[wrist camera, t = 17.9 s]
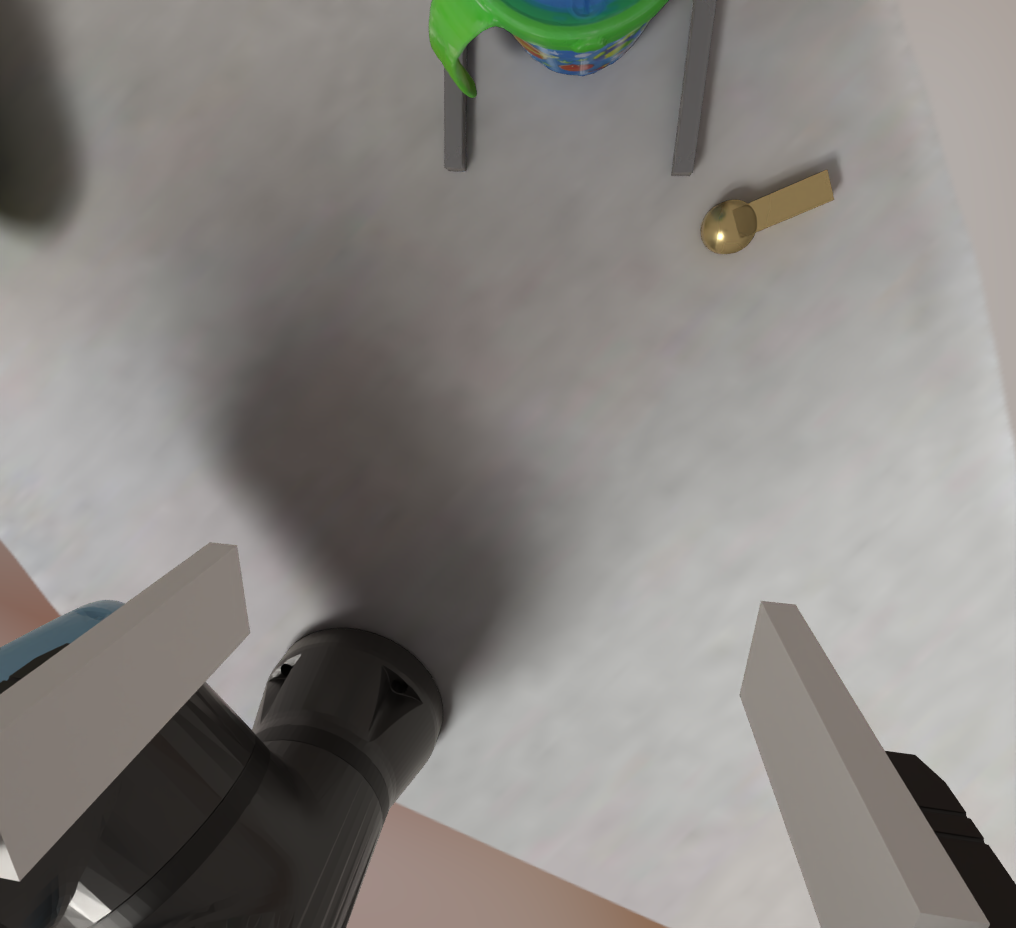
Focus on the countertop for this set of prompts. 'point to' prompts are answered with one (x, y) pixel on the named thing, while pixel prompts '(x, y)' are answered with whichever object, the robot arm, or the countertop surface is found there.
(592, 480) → the countertop surface
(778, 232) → the countertop surface
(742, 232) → the brass key
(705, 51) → the bracket
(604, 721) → the countertop surface
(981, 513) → the countertop surface
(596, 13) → the snack cup
